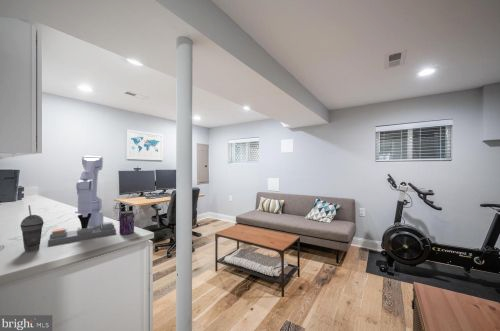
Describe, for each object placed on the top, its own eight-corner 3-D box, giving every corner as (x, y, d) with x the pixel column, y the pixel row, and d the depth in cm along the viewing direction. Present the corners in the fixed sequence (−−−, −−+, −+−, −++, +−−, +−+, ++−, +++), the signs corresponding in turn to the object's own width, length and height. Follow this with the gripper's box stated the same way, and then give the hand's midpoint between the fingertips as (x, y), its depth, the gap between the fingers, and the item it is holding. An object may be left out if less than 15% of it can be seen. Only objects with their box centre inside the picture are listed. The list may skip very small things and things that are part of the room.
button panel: (113, 229, 122) (113, 221, 122) (115, 233, 114) (115, 225, 114) (50, 239, 105) (50, 230, 105) (48, 245, 96) (48, 236, 96)
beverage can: (127, 235, 111) (127, 213, 111) (116, 234, 112) (116, 212, 112) (136, 231, 118) (137, 210, 118) (126, 230, 119) (126, 210, 119)
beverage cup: (36, 252, 89) (36, 206, 89) (15, 254, 87) (15, 207, 87) (47, 245, 96) (47, 203, 96) (28, 247, 94) (28, 204, 94)
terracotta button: (64, 231, 106) (64, 228, 106) (64, 233, 102) (64, 229, 102) (53, 233, 103) (53, 229, 103) (52, 235, 100) (52, 231, 100)
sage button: (89, 229, 112) (89, 226, 112) (89, 231, 109) (89, 227, 109) (79, 231, 109) (79, 227, 109) (79, 233, 106) (79, 229, 106)
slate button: (111, 224, 119) (111, 221, 119) (112, 226, 115) (112, 223, 115) (102, 226, 116) (102, 222, 116) (102, 227, 113) (103, 224, 113)
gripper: (75, 201, 112) (74, 226, 112) (74, 205, 101) (74, 232, 101) (91, 200, 117) (91, 223, 117) (92, 203, 106) (92, 230, 106)
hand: (84, 227), depth 109 cm, fingers closed, pressing on sage button
